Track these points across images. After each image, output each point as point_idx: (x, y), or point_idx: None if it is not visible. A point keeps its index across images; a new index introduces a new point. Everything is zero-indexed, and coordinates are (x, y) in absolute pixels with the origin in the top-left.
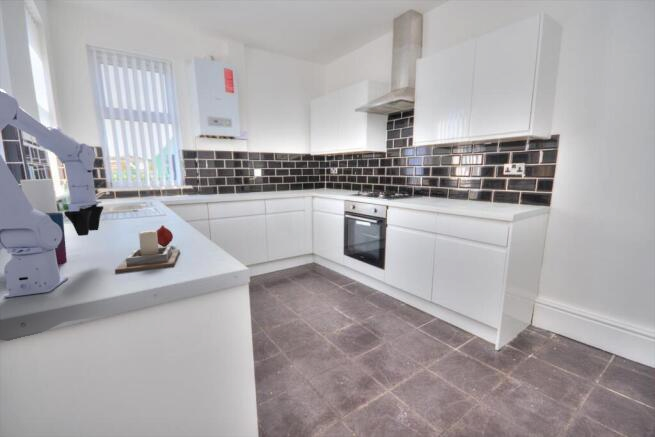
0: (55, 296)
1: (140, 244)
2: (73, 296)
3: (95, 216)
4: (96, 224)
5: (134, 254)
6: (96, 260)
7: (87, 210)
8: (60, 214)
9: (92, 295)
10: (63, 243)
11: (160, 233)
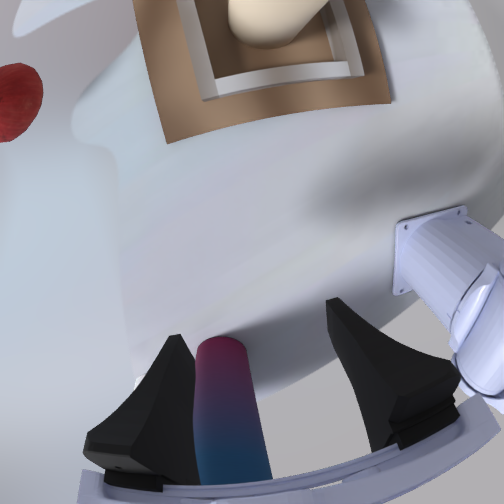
0: (481, 179)
1: (309, 19)
2: (488, 144)
3: (167, 408)
4: (175, 361)
5: (286, 66)
6: (204, 259)
7: (182, 467)
8: (219, 484)
9: (491, 110)
10: (217, 383)
11: (13, 90)
